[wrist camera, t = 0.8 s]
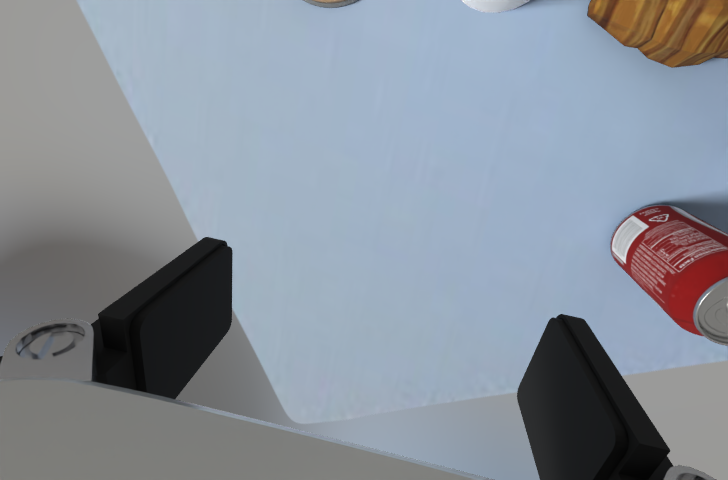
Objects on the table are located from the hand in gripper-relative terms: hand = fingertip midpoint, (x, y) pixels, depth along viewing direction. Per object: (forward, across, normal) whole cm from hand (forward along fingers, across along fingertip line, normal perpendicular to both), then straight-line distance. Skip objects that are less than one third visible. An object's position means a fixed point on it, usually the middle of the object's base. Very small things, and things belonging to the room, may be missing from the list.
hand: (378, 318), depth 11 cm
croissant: (+27, -17, -13) cm, 34 cm away
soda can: (+26, -23, +3) cm, 35 cm away
